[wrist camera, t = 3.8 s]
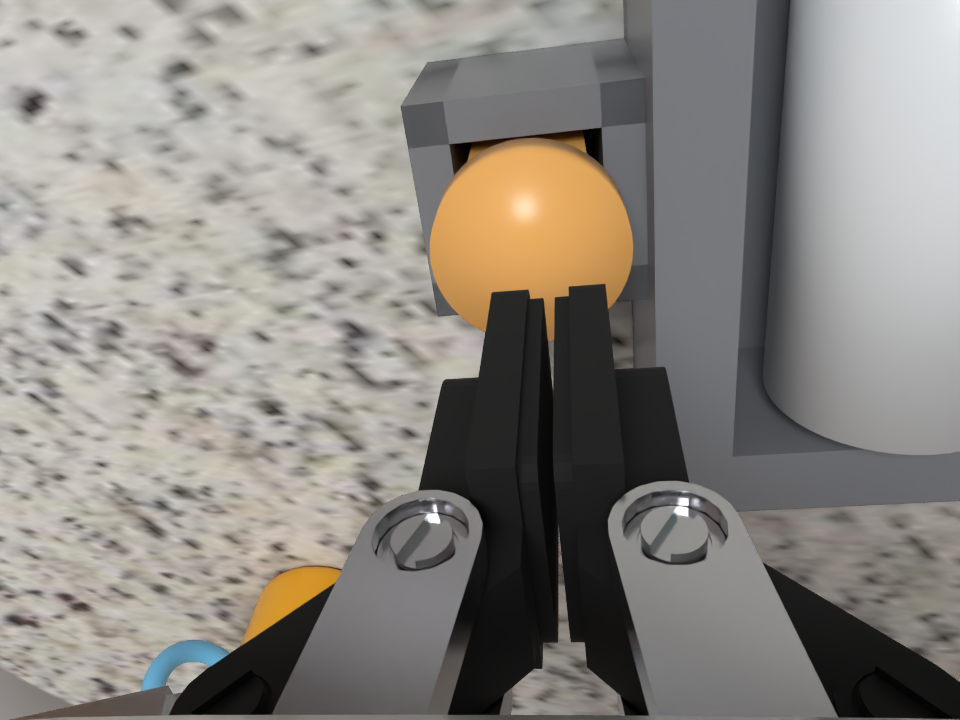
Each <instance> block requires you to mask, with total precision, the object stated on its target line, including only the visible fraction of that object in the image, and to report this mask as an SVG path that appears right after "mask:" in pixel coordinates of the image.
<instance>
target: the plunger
mask: <svg viewBox="0 0 960 720" xmlns="http://www.w3.org/2000/svg"><path fill="white" fill-rule="evenodd" d="M632 259H633V238H632V231H631V227H630V223H629V219H628V215H627V211H626V207H625V203H624V200H623V198H622V195H621V193H620V190H619V188H618V187H617V185H616V183H615V181H614V180H613V178H612V177H611V176H610V174H609V173H608V172H607V171H606V169H605V168H604V167H603V166H602V165H600V164H599V163H598V162H597V161H596V160H595V159H594V158H592V157H591V156H589V155H588V154H587V153H586V147H585V140H584V134H583V130H574V131H565V132H556V133H547V134H538V135H529V136H519V137H510V138H501V139H492V140H483V141H474V142H472V146H471V150H470V154H469V157H468V161H467V163H465V164H464V165H463V166H462V167H461V168H460V169H459V170H458V172H457V173H456V174H455V175H454V176H453V178H452V179H451V181H450V182H449V184H448V185H447V187H446V189H445V191H444V193H443V195H442V198H441V201H440V204H439V207H438V211H437V214H436V217H435V220H434V224H433V227H432V232H431V237H430V261H431V267H432V271H433V275H434V278H435V280H436V283H437V285H438V287H439V289H440V291H441V293H442V295H443V296H444V298H445V299H446V301H447V302H448V303H449V305H450V306H451V307H452V308H453V309H454V310H455V311H456V312H457V313H458V314H459V315H460V316H461V317H462V318H463V319H465V320H466V321H467V322H468V323H470V324H471V325H473V326H475V327H476V328H478V329H479V330H482V331H484V332H486V326H487V319H488V313H489V306H490V300H491V294H492V292H501V291H514V290H529V294H530V299H536V298H543V299H544V306H545V316H546V326H547V337H548V341H551V340H554V308H555V297H563V296H569V286H582V285H595V284H606V293H607V303H608V309H609V308H610V307H611V306H612V305H613V304H614V302H615V301H616V300H617V298H618V297H619V295H620V294H621V292H622V290H623V288H624V286H625V284H626V282H627V279H628V276H629V273H630V270H631V265H632Z"/></svg>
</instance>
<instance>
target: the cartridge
mask: <svg viewBox="0 0 960 720" xmlns="http://www.w3.org/2000/svg"><path fill="white" fill-rule="evenodd" d="M763 383H764V386H765V390H766V392H767V394H768V395H769V397H770V399H771V400H772V401H773V402H774V404H775V405H776V406H777V407H778V408H779V409H780V410H781V411H782V412H783V413H784V414H785V415H787V416H788V417H789V418H791V419H792V420H794V421H795V422H796V423H798V424H800V425H801V426H803V427H805V428H807V429H808V430H810V431H813V432H815V433H817V434H819V435H821V436H823V437H826V438H829V439H831V440H834V441H837V442H840V443H843V444H847V445H850V446H854V447H857V448H862V449H867V450H872V451H877V452H884V453H892V454H904V455H937V454H947V453H954V452H959V451H960V0H790V12H789V26H788V39H787V53H786V66H785V80H784V93H783V107H782V120H781V134H780V147H779V161H778V174H777V188H776V201H775V215H774V228H773V242H772V255H771V269H770V282H769V296H768V309H767V323H766V336H765V350H764V363H763Z"/></svg>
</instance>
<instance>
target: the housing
mask: <svg viewBox="0 0 960 720" xmlns="http://www.w3.org/2000/svg"><path fill="white" fill-rule="evenodd" d="M623 6H624V38H623V39H615V40H607V41H598V42H590V43H582V44H574V45H566V46H558V47H549V48H541V49H533V50H525V51H517V52H509V53H501V54H492V55H484V56H476V57H468V58H460V59H452V60H444V61H435V62H427V64H426V65H425V67H424V69H423V70H422V72H421V74H420V75H419V77H418V79H417V80H416V82H415V83H414V85H413V87H412V88H411V90H410V92H409V93H408V95H407V97H406V98H405V100H404V102H403V103H402V105H401V111H402V117H403V122H404V128H405V134H406V139H407V145H408V150H409V156H410V162H411V167H412V173H413V179H414V184H415V190H416V196H417V201H418V207H419V212H420V218H421V224H422V229H423V235H424V241H425V246H426V252H427V258H428V263H429V269H430V274H431V280H432V286H433V291H434V297H435V303H436V308H437V314H438V316H450V315H459V314H458V313H457V312H456V311H455V310H454V309H453V308H452V307H451V306H450V305H449V303H448V302H447V301H446V299H445V298H444V296H443V295H442V293H441V291H440V289H439V287H438V285H437V283H436V280H435V278H434V275H433V271H432V267H431V261H430V237H431V232H432V227H433V224H434V220H435V217H436V214H437V211H438V207H439V204H440V201H441V198H442V195H443V193H444V191H445V189H446V187H447V185H448V184H449V182H450V181H451V179H452V178H453V176H454V175H455V174H456V173H457V172H458V170H459V169H460V168H461V167H462V166H463V165H464V164H465V163H467V161H468V157H469V154H470V150H471V146H472V142H474V141H483V140H492V139H501V138H510V137H519V136H529V135H538V134H547V133H556V132H565V131H574V130H584V129H593V144H594V159H595V160H596V161H597V162H598V163H599V164H600V165H602V166H603V167H604V168H605V169H606V171H607V172H608V173H609V174H610V176H611V177H612V178H613V180H614V181H615V183H616V185H617V187H618V188H619V190H620V193H621V195H622V198H623V200H624V203H625V207H626V211H627V215H628V219H629V223H630V227H631V231H632V238H633V259H632V265H631V270H630V273H629V276H628V279H627V282H626V284H625V286H624V288H623V290H622V292H621V294H620V295H619V297H618V298H617V300H616V301H615V302H622V301H632V320H633V354H634V368H649V367H665V368H666V372H667V376H668V381H669V385H670V390H671V395H672V400H673V405H674V410H675V415H676V420H677V425H678V430H679V435H680V439H681V444H682V449H683V454H684V459H685V464H686V469H687V474H688V479H689V483H692V484H697V485H700V486H702V487H705V488H707V489H709V490H712V491H714V492H716V493H717V494H719V495H720V496H721V497H723V498H724V499H725V500H727V501H728V502H730V504H731V505H732V506H733V508H734V509H735V510H736V511H757V510H778V509H799V508H820V507H841V506H862V505H883V504H904V503H925V502H946V501H960V451H959V452H954V453H947V454H937V455H904V454H892V453H884V452H877V451H872V450H867V449H862V448H857V447H854V446H850V445H847V444H843V443H840V442H837V441H834V440H831V439H829V438H826V437H823V436H821V435H819V434H817V433H815V432H813V431H810V430H808V429H807V428H805V427H803V426H801V425H800V424H798V423H796V422H795V421H794V420H792V419H791V418H789V417H788V416H787V415H785V414H784V413H783V412H782V411H781V410H780V409H779V408H778V407H777V406H776V405H775V404H774V402H773V401H772V400H771V399H770V397H769V395H768V394H767V392H766V390H765V386H764V383H763V363H764V350H765V336H766V323H767V309H768V296H769V282H770V269H771V255H772V242H773V228H774V215H775V201H776V188H777V174H778V161H779V147H780V134H781V120H782V107H783V93H784V80H785V66H786V53H787V39H788V26H789V12H790V0H623Z"/></svg>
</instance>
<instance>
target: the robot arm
mask: <svg viewBox="0 0 960 720" xmlns="http://www.w3.org/2000/svg"><path fill="white" fill-rule="evenodd" d="M558 523H559V533H560V543H561V552H562V562H563V572H564V581H565V591H566V601H567V610H568V620H569V630H570V639H571V642H585V648H586V659H587V667H588V668H589V669H590V670H591V671H592V672H593V673H595V674H596V675H597V676H598V677H599V678H601V679H602V680H603V681H604V682H605V683H606V684H608V685H609V686H610V687H611V688H612V689H614V690H615V691H616V692H617V693H618V710H619V714H620V716H593V715H511V711H512V697H513V693H512V687H513V686H514V685H515V684H517V683H518V682H519V681H520V680H521V679H522V678H524V677H525V676H526V675H527V674H528V673H529V672H531V671H532V670H533V669H542V663H543V643H552V642H558ZM10 720H960V682H959V681H957V680H956V679H955V678H953V677H952V676H951V675H949V674H948V673H947V672H945V671H944V670H943V669H941V668H940V667H938V666H937V665H935V664H934V663H932V662H930V661H929V660H927V659H925V658H924V657H922V656H920V655H919V654H917V653H915V652H913V651H912V650H910V649H908V648H907V647H905V646H903V645H902V644H900V643H898V642H897V641H895V640H893V639H891V638H890V637H888V636H886V635H885V634H883V633H881V632H880V631H878V630H876V629H874V628H873V627H871V626H869V625H868V624H866V623H864V622H863V621H861V620H859V619H858V618H856V617H854V616H852V615H851V614H849V613H847V612H846V611H844V610H842V609H841V608H839V607H837V606H836V605H834V604H832V603H830V602H829V601H827V600H825V599H824V598H822V597H820V596H819V595H817V594H815V593H814V592H812V591H810V590H808V589H807V588H805V587H803V586H802V585H800V584H798V583H797V582H795V581H793V580H792V579H790V578H788V577H786V576H785V575H783V574H781V573H780V572H778V571H776V570H775V569H773V568H771V567H770V566H768V565H766V564H764V563H763V562H762V561H761V559H760V557H759V555H758V552H757V550H756V548H755V546H754V544H753V542H752V540H751V538H750V536H749V534H748V532H747V530H746V528H745V526H744V524H743V522H742V520H741V518H740V516H739V515H738V513H737V512H736V510H735V509H734V508H733V506H732V505H731V504H730V502H728V501H727V500H725V499H724V498H723V497H721V496H720V495H719V494H717V493H716V492H714V491H712V490H709V489H707V488H705V487H702V486H700V485H697V484H692V483H689V479H688V474H687V469H686V464H685V459H684V454H683V449H682V444H681V439H680V435H679V430H678V425H677V420H676V415H675V410H674V405H673V400H672V395H671V390H670V385H669V381H668V376H667V372H666V368H665V367H649V368H632V369H615V370H614V360H613V351H612V341H611V332H610V322H609V313H608V303H607V293H606V284H595V285H582V286H569V296H563V297H555V308H554V397H553V388H552V378H551V368H550V357H549V347H548V337H547V326H546V316H545V306H544V299H543V298H536V299H530V294H529V290H514V291H501V292H492V294H491V300H490V306H489V313H488V319H487V326H486V332H485V339H484V345H483V352H482V359H481V365H480V372H479V377H478V378H461V379H446V380H444V381H443V384H442V387H441V391H440V395H439V400H438V404H437V409H436V413H435V418H434V422H433V427H432V432H431V436H430V441H429V445H428V450H427V454H426V459H425V464H424V468H423V473H422V477H421V482H420V486H419V491H416V492H412V493H409V494H405V495H401V496H399V497H397V498H395V499H393V500H391V501H389V502H387V503H385V504H384V505H383V506H382V507H380V508H379V509H378V510H377V511H376V512H374V513H373V514H372V515H371V516H370V518H369V519H368V521H367V522H366V523H365V525H364V526H363V528H362V530H361V532H360V534H359V536H358V538H357V540H356V542H355V544H354V546H353V548H352V550H351V552H350V554H349V556H348V558H347V561H346V563H345V565H344V567H343V569H342V571H341V573H340V575H339V577H338V579H337V581H336V582H335V583H334V584H332V585H331V586H329V587H328V588H327V589H325V590H324V591H322V592H321V593H319V594H318V595H316V596H315V597H313V598H312V599H310V600H309V601H307V602H306V603H304V604H303V605H301V606H300V607H298V608H297V609H295V610H294V611H292V612H291V613H289V614H288V615H286V616H285V617H283V618H282V619H280V620H279V621H277V622H276V623H274V624H273V625H272V626H270V627H269V628H267V629H266V630H264V631H263V632H261V633H260V634H258V635H257V636H255V637H254V638H252V639H251V640H249V641H248V642H246V643H245V644H243V645H242V646H240V647H239V648H237V649H236V650H234V651H233V652H231V653H230V654H228V655H227V656H225V657H224V658H222V659H221V660H219V661H218V662H217V663H215V664H214V665H212V666H211V667H209V668H208V669H206V670H205V671H204V672H203V673H201V674H200V675H199V676H198V677H197V678H195V679H194V680H193V681H192V682H191V683H189V685H188V686H187V687H186V688H185V690H184V691H183V692H181V693H177V694H173V693H172V691H171V690H170V688H169V686H168V685H167V686H162V687H158V688H153V689H149V690H144V691H139V692H135V693H130V694H126V695H121V696H116V697H112V698H107V699H103V700H98V701H93V702H89V703H84V704H79V705H75V706H70V707H66V708H61V709H56V710H52V711H47V712H43V713H38V714H33V715H29V716H24V717H20V718H15V719H10Z"/></svg>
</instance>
